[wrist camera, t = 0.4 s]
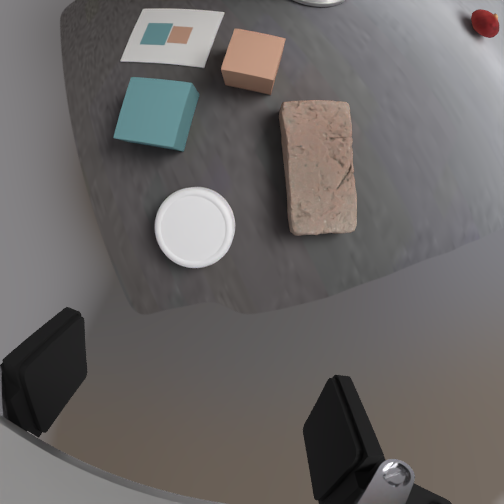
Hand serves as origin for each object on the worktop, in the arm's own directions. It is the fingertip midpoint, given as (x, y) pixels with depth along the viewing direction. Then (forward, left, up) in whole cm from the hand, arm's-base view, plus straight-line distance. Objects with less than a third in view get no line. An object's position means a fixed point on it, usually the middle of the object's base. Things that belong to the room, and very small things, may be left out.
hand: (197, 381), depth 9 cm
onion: (-51, +32, -29) cm, 67 cm away
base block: (-13, -14, -29) cm, 34 cm away
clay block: (-22, -4, -29) cm, 37 cm away
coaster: (0, -6, -30) cm, 30 cm away
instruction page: (-26, -17, -29) cm, 42 cm away
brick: (-11, +8, -30) cm, 32 cm away
